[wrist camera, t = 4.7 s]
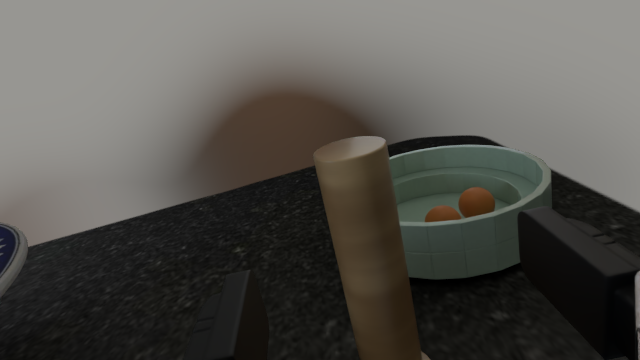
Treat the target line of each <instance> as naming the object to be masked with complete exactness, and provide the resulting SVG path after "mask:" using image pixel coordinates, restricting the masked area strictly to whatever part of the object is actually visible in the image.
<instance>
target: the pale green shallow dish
mask: <svg viewBox="0 0 640 360" xmlns="http://www.w3.org/2000/svg"><path fill="white" fill-rule="evenodd" d="M389 160H390V166H391V172H392V178H393V184H394V191H395V197H396V203H397V209H398V215H399V221H400V227H401V233H402V239H403V245H404V251H405V257H406V263H407V269H408V276H409V277H413V278H424V279H435V280H436V279H454V278H467V277H473V276H478V275H482V274H487V273H492V272H497V271H500V270H503V269H505V268H508V267H510V266H513V265H515V264H518V263H520V257H519V240H518V223H517V218H518V214H519V212H521V211H525V210H529V209H534V208H538V207H543V206H548V207H550V208H551V209H552V183H551V169H550V168H549V167H548V166H547V165H546V164H545V162H544V161H543V160H541V159H539V158H537V157H536V156H534V155H532V154H530V153H526V152H523V151H519V150H516V149H512V148H506V147H498V146H490V145H455V146H442V147H435V148H427V149H421V150H416V151H412V152H407V153H403V154H399V155H396V156H393V157H390V158H389ZM472 187H481V188H484V189H486V190H488V191H489V192H490V193H491V194H492V196H493V197H494V200H495V209H494V212H491V213H487V214H482V215H478V216H473V217H468V218H465V217H464V216H463V215H462V214H461V212H460V210H459V206H458V202H459V198H460V196H461V194H462V193H463V192H464V191H465V190H467V189H469V188H472ZM440 205H446V206H450V207H452V208H454V209H455V210H456V211H457V212H458V213H459V214H460V216H461V218H462V219H459V220H449V221H438V222H425V217H426V215H427V213H428V212H429V211H430V210H431V209H432V208H434V207H436V206H440Z"/></svg>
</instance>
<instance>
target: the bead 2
mask: <svg viewBox="0 0 640 360" xmlns="http://www.w3.org/2000/svg"><path fill="white" fill-rule="evenodd" d="M458 206H459V210H460V212H461V214H462V215H463V216H464V217H465V218H468V217H473V216H478V215H482V214H487V213H491V212H494V209H495V200H494V197H493V196H492V194H491V193H490V192H489V191H488V190H486V189H484V188H481V187H472V188H469V189H467V190H465V191H464V192H463V193H462V194H461V196H460V198H459V202H458Z"/></svg>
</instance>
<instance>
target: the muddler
mask: <svg viewBox="0 0 640 360" xmlns="http://www.w3.org/2000/svg"><path fill="white" fill-rule="evenodd" d="M313 158H314V163H315V167H316V171H317V176H318V180H319V184H320V189H321V193H322V197H323V202H324V206H325V210H326V215H327V219H328V224H329V228H330V232H331V237H332V241H333V245H334V250H335V254H336V258H337V263H338V267H339V271H340V276H341V280H342V285H343V289H344V293H345V298H346V302H347V306H348V311H349V315H350V319H351V324H352V328H353V332H354V337H355V341H356V346H357V350H358V354H359V359H360V360H430V358H429V357H428V356H427V355H426V354H424V353H423V352H421V348H420V342H419V336H418V330H417V324H416V318H415V312H414V306H413V300H412V294H411V288H410V282H409V276H408V269H407V263H406V257H405V251H404V245H403V239H402V233H401V227H400V221H399V215H398V209H397V203H396V197H395V191H394V184H393V178H392V172H391V166H390V160H389V154H388V148H387V143H386V141H385V139H383V138H381V137H375V136H360V137H353V138H347V139H343V140H339V141H336V142H333V143H330V144H328V145H325V146H323V147H321V148H320V149H318V150H317V151H316V152H315V153H314V156H313Z"/></svg>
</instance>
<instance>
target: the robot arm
mask: <svg viewBox="0 0 640 360" xmlns="http://www.w3.org/2000/svg"><path fill="white" fill-rule="evenodd" d="M517 223H518V240H519V257H520V263H521V266H522V269H523V271H524V273H525V275H526V276H527V278H528V279H529V280H530V281H531V282H532V283H533V284H534V285H535V286H536V288H537V289H538V290H539V291H540V292H541V293H542V294H543V295H544V296H545V297H546V298H547V299H548V300H549V301H550V302H551V303H552V304H553V305H554V307H555V308H556V309H557V310H558V311H559V312H560V313H561V314H562V315H563V316H564V317H565V318H566V319H567V320H568V321H569V322H570V323H571V325H572V326H573V327H574V328H575V329H576V330H577V331H578V332H579V333H580V334H581V335H582V336H583V337H584V338H585V339H586V340H587V341H588V342H589V344H590V345H591V346H592V347H593V348H594V349H595V350H596V351H597V352H598V353H599V354H600V355H601V356H602V357H603V358H604V359H605V360H609V359H613V358H618V357H623V356H626V357H627V358H628V359H629V360H640V257H639V256H638V255H636V254H635V253H633V252H631V251H630V250H628V249H627V248H625V247H624V246H622V245H621V244H619V243H615V240H613V239H611V238H610V237H608V236H607V235H604V234H603V233H602V232H601V231H599V230H598V229H596V228H595V227H593V226H591V225H590V224H587V223H584V222H581V221H578V220H575V219H572V218H568V219H566V218H565V217H563V216H562V215H560V214H559V213H557V212H556V211H554V210H553V209H551V208H550V207H548V206H543V207H538V208H534V209H529V210H525V211H521V212H519V214H518V218H517ZM268 338H269V324H268V317H267V313H266V309H265V306H264V303H263V300H262V297H261V294H260V290H259V287H258V284H257V281H256V278H255V275H254V272H253V271H252V270H246V271H242V272H237V273H233V274H228V275H226V278H225V281H224V285H223V288H222V291H221V293H219V294H214V295H211V297H210V298H209V299H208V300H207V301H206V302H205V304H204V305H203V306H202V307H201V309H200V312H199V315H198V318H197V323H196V324H195V327H194V329H193V333H192V335H191V338H190V341H189V344H188V347H187V349H186V352H185V355H184V358H183V360H267V349H268Z"/></svg>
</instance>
